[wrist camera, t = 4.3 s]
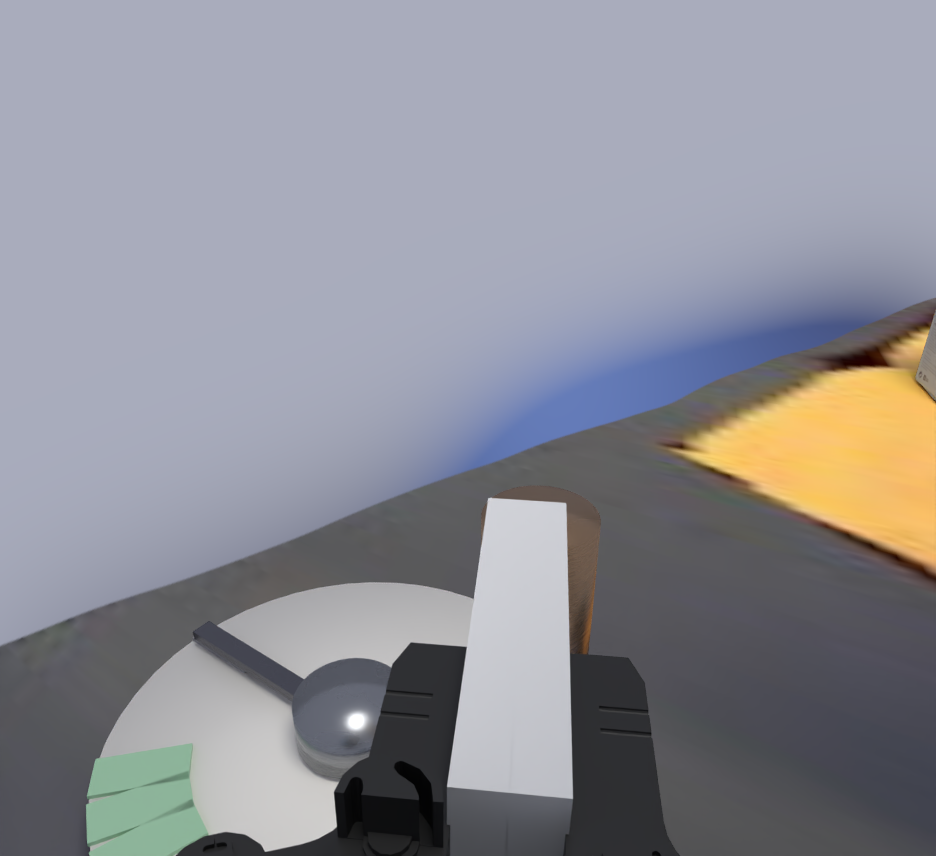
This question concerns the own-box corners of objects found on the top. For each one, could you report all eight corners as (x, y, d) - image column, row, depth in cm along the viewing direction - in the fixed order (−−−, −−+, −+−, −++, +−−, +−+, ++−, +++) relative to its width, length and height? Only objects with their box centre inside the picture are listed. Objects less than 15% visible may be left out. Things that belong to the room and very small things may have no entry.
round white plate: (346, 564, 50) (344, 535, 49) (675, 724, 39) (681, 691, 38) (-7, 815, 34) (-20, 780, 33) (376, 1211, 23) (373, 1176, 22)
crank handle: (161, 665, 39) (97, 388, 32) (241, 610, 43) (199, 351, 36) (528, 918, 28) (550, 580, 21) (594, 817, 32) (630, 499, 25)
